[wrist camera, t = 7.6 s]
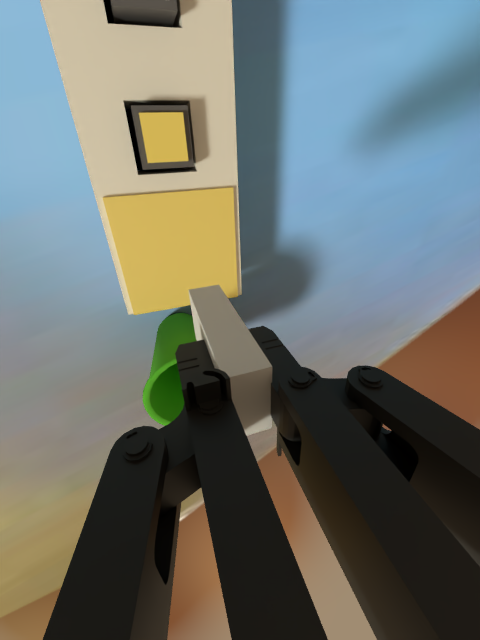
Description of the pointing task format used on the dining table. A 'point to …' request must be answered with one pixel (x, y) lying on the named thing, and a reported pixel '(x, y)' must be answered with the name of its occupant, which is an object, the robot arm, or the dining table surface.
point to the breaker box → (118, 156)
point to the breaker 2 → (163, 136)
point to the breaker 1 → (144, 12)
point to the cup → (167, 369)
